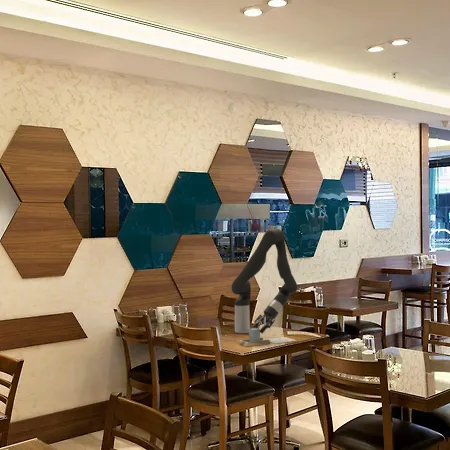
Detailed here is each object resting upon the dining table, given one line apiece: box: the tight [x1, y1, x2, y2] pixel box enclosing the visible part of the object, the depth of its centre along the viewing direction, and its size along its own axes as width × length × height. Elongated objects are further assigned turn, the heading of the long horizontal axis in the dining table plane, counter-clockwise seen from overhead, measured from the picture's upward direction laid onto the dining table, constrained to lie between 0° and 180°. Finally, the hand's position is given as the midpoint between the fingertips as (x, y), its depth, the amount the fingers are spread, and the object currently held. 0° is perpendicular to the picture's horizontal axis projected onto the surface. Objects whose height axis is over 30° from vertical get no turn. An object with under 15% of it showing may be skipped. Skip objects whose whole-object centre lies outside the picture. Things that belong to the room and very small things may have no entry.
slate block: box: [248, 327, 261, 342], centre depth 329 cm, size 5×5×8 cm
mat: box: [264, 336, 297, 345], centre depth 337 cm, size 12×15×1 cm
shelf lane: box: [238, 336, 271, 348], centre depth 329 cm, size 8×15×2 cm, turn 118°
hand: (256, 331), depth 330 cm, fingers open, 8 cm apart
